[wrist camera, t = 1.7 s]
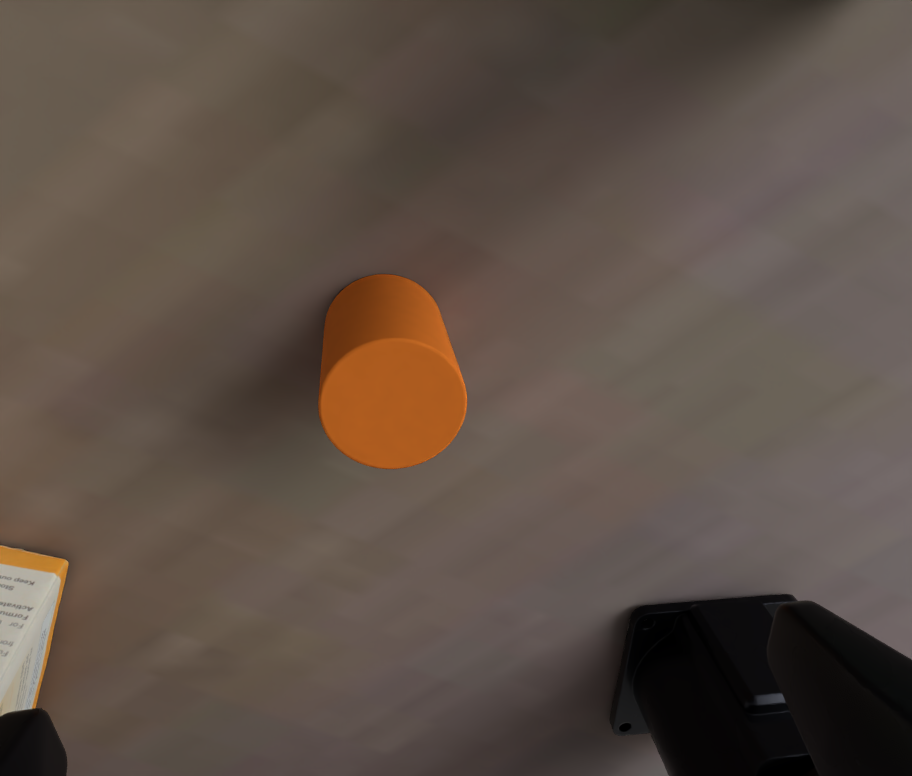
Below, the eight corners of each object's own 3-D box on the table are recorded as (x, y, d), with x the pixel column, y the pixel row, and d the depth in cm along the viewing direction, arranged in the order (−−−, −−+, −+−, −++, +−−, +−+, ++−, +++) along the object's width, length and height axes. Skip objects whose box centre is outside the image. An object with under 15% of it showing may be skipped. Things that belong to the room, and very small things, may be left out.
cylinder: (440, 381, 20) (464, 466, 16) (327, 384, 19) (322, 473, 15) (443, 272, 18) (470, 337, 14) (321, 273, 18) (313, 340, 14)
